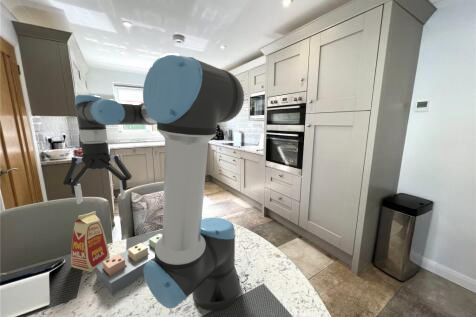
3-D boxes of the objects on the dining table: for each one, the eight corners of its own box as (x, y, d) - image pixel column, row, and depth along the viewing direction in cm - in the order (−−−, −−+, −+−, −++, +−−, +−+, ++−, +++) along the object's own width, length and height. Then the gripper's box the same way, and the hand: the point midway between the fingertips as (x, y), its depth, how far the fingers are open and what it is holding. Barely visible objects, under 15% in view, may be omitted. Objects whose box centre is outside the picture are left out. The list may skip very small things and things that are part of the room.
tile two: (148, 254, 72) (147, 246, 71) (135, 262, 68) (134, 253, 68) (141, 249, 75) (140, 242, 74) (128, 256, 71) (127, 248, 70)
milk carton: (91, 271, 69) (83, 219, 66) (70, 267, 71) (61, 217, 67) (112, 255, 78) (106, 208, 74) (93, 251, 80) (86, 206, 76)
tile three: (125, 267, 66) (124, 259, 65) (109, 276, 62) (108, 267, 61) (119, 261, 68) (118, 253, 68) (103, 269, 65) (102, 261, 64)
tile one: (167, 244, 78) (166, 236, 78) (156, 250, 75) (155, 242, 74) (160, 239, 81) (159, 232, 81) (149, 245, 77) (148, 238, 77)
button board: (175, 255, 78) (174, 245, 77) (112, 295, 60) (110, 283, 59) (158, 244, 85) (157, 235, 84) (97, 277, 66) (95, 266, 66)
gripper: (136, 140, 74) (141, 193, 78) (56, 142, 67) (66, 200, 70) (132, 142, 67) (138, 199, 71) (42, 144, 60) (54, 209, 63)
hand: (102, 200), depth 71 cm, fingers open, 13 cm apart
